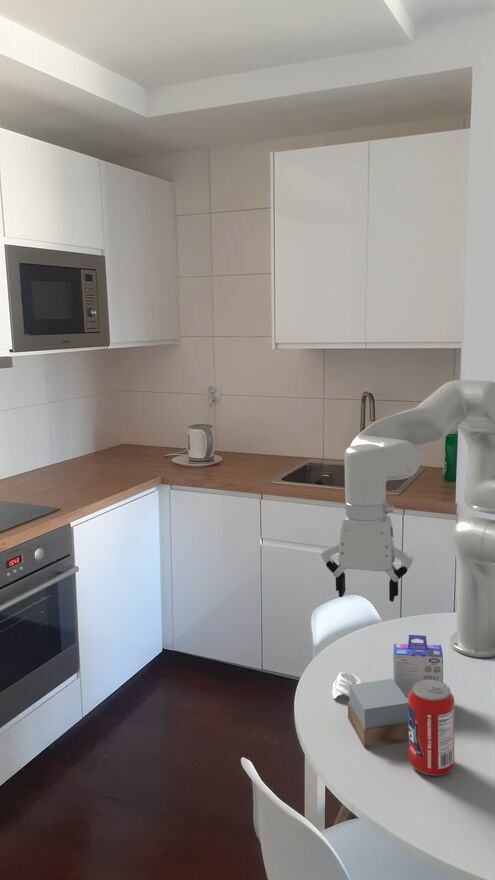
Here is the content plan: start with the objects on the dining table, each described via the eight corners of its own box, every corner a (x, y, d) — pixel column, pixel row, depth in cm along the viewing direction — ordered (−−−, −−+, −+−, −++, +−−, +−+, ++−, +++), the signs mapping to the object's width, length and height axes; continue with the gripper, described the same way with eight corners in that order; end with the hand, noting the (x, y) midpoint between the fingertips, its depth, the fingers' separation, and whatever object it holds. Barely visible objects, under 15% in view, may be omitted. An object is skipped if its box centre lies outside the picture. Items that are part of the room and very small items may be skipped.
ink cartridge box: (442, 698, 146) (442, 633, 143) (444, 713, 141) (444, 646, 138) (394, 695, 148) (393, 631, 145) (394, 709, 143) (393, 644, 140)
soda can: (448, 784, 120) (448, 704, 117) (403, 772, 124) (402, 694, 121) (458, 758, 126) (459, 682, 124) (415, 747, 130) (415, 673, 128)
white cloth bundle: (331, 688, 154) (328, 667, 153) (361, 684, 153) (359, 663, 153) (334, 706, 146) (330, 683, 145) (366, 702, 146) (363, 680, 145)
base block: (395, 713, 142) (395, 695, 141) (414, 741, 133) (414, 722, 132) (348, 720, 141) (347, 701, 140) (364, 749, 131) (364, 730, 130)
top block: (392, 696, 141) (392, 678, 140) (410, 721, 132) (410, 702, 131) (349, 703, 139) (349, 684, 139) (364, 728, 131) (364, 709, 130)
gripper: (414, 507, 132) (415, 593, 135) (324, 503, 137) (326, 585, 140) (410, 518, 125) (411, 608, 128) (316, 513, 130) (318, 600, 133)
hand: (366, 596), depth 134 cm, fingers open, 9 cm apart
